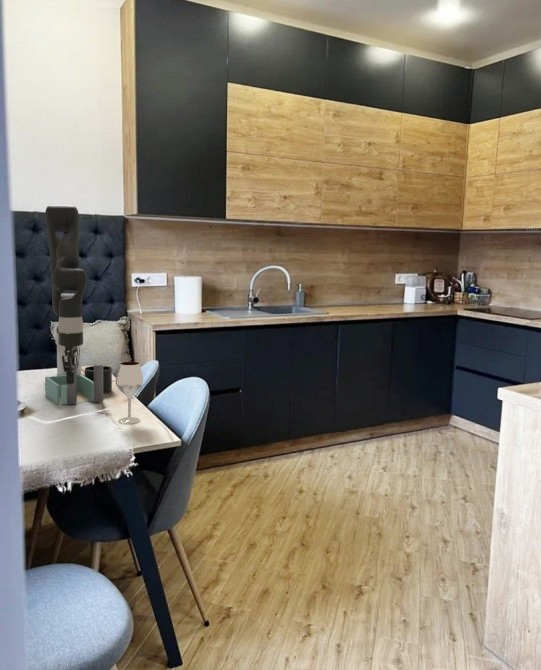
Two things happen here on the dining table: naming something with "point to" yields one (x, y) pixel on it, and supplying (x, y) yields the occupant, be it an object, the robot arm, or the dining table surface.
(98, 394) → the flap far
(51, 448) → the dining table surface
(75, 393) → the flap near
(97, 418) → the dining table surface
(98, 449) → the dining table surface
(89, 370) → the mug
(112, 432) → the dining table surface
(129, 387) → the wineglass
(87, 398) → the teal open box
